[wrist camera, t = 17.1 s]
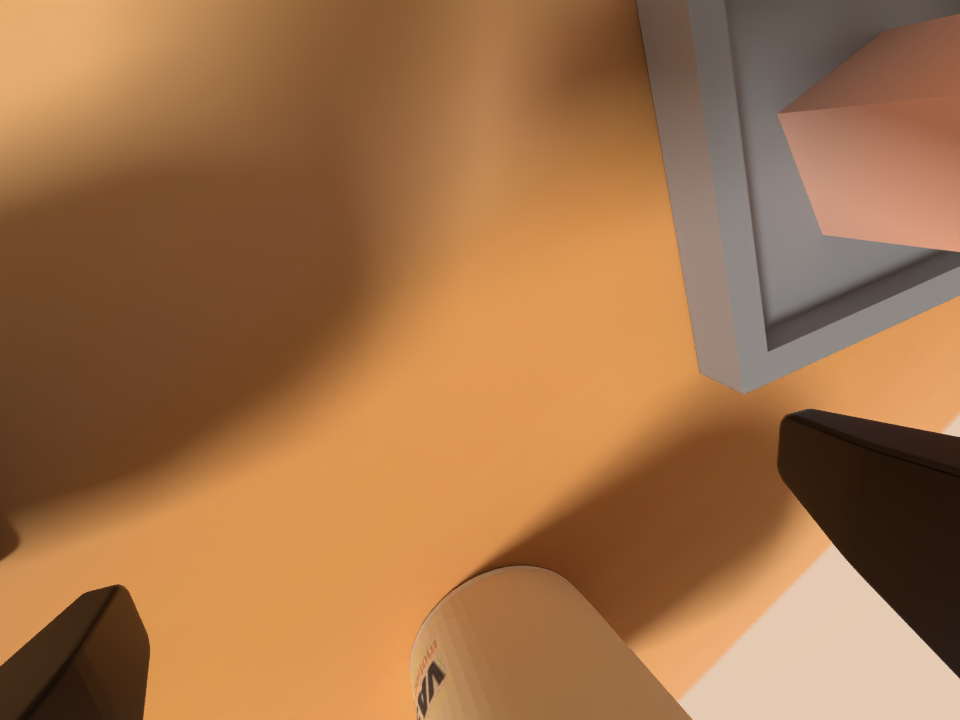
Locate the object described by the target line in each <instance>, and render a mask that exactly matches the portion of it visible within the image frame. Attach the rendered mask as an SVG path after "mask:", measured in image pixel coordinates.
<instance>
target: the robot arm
mask: <svg viewBox="0 0 960 720" xmlns="http://www.w3.org/2000/svg"><path fill="white" fill-rule="evenodd" d="M777 467H778V471H779V474H780V476H781V478H782V480H783V481H784V483H785V484H786V485H787V486H788V488H789V489H790V490H791V491H792V493H793V494H794V495H795V496H796V498H797V499H798V500H799V501H800V503H801V504H802V505H803V506H804V508H805V509H806V510H807V511H808V513H809V514H810V515H811V516H812V518H813V519H814V520H815V521H816V523H817V524H818V525H819V526H820V528H821V529H822V530H823V531H824V533H825V534H826V535H827V537H828V538H829V539H830V540H831V542H832V543H833V544H834V545H835V546H836V548H837V549H838V550H839V551H840V553H841V554H842V555H843V556H844V557H845V559H846V560H847V561H848V562H849V563H850V564H851V565H852V566H853V568H854V569H855V570H856V571H857V572H858V573H859V574H860V575H861V576H862V577H863V578H864V579H865V580H866V582H867V583H869V585H870V586H871V587H872V588H873V589H874V590H875V591H876V592H877V593H878V594H879V595H880V596H881V597H882V598H883V599H884V600H885V601H886V602H887V603H888V604H889V605H890V606H891V608H893V610H894V611H895V612H896V613H897V614H898V615H899V616H900V617H901V618H902V619H903V620H904V621H905V622H906V623H907V624H908V625H909V626H910V627H911V628H912V629H913V630H914V631H915V632H916V634H917V635H918V636H919V637H920V638H921V639H922V640H923V641H924V642H925V643H926V644H927V645H928V646H929V647H930V648H931V649H932V650H933V651H934V652H935V653H936V654H937V655H938V656H939V657H940V658H941V660H942V661H943V662H944V663H945V664H946V665H947V666H948V667H949V668H950V669H951V670H952V671H953V672H954V673H955V674H956V675H957V676H958V677H959V678H960V437H955V436H950V435H945V434H940V433H935V432H930V431H925V430H920V429H914V428H909V427H904V426H899V425H894V424H888V423H883V422H878V421H873V420H868V419H862V418H857V417H852V416H847V415H842V414H836V413H831V412H826V411H821V410H816V409H806V410H802V411H798V412H794V413H791V414H787V415H786V416H784V417H783V418H782V420H781V422H780V428H779V441H778V455H777ZM149 659H150V644H149V638H148V634H147V632H146V629H145V627H144V625H143V623H142V620H141V618H140V616H139V613H138V611H137V609H136V607H135V604H134V602H133V600H132V597H131V595H130V593H129V591H128V590H127V589H126V588H125V587H124V586H122V585H119V584H117V585H113V586H109V587H105V588H101V589H97V590H93V591H89V592H86V593H84V594H82V595H81V596H80V597H79V598H78V599H76V600H75V601H74V602H73V603H72V604H71V605H70V606H68V607H67V608H66V609H65V610H64V611H63V612H62V613H61V614H59V615H58V616H57V617H56V618H55V619H54V620H53V621H51V622H50V623H49V624H48V625H47V626H46V627H45V628H43V629H42V630H41V631H40V632H39V633H38V634H37V635H36V636H34V637H33V638H32V639H31V640H30V641H29V642H28V643H26V644H25V645H24V646H23V647H22V648H21V649H20V650H18V651H17V652H16V653H15V654H14V655H13V656H12V657H11V658H9V659H8V660H7V661H6V662H5V663H4V664H3V665H1V666H0V720H143V716H144V706H145V697H146V687H147V678H148V668H149Z"/></svg>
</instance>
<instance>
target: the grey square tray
mask: <svg viewBox="0 0 960 720" xmlns="http://www.w3.org/2000/svg"><path fill="white" fill-rule="evenodd" d="M636 3H637V9H638V15H639V21H640V26H641V32H642V38H643V44H644V50H645V56H646V61H647V67H648V73H649V79H650V85H651V91H652V96H653V102H654V108H655V114H656V120H657V126H658V131H659V137H660V143H661V149H662V155H663V160H664V166H665V172H666V178H667V184H668V190H669V195H670V201H671V207H672V213H673V219H674V225H675V230H676V236H677V242H678V248H679V254H680V259H681V265H682V271H683V277H684V283H685V289H686V294H687V300H688V306H689V312H690V318H691V324H692V329H693V335H694V341H695V347H696V353H697V359H698V364H699V370H700V373H701V374H703V375H705V376H707V377H709V378H711V379H713V380H715V381H717V382H719V383H721V384H723V385H726V386H728V387H730V388H732V389H734V390H736V391H738V392H740V393H742V394H746V393H748V392H750V391H752V390H755V389H757V388H759V387H761V386H763V385H765V384H768V383H770V382H772V381H774V380H776V379H779V378H781V377H783V376H785V375H787V374H789V373H792V372H794V371H796V370H798V369H800V368H803V367H805V366H807V365H809V364H811V363H813V362H816V361H818V360H820V359H822V358H824V357H827V356H829V355H831V354H833V353H835V352H837V351H840V350H842V349H844V348H846V347H848V346H851V345H853V344H855V343H857V342H859V341H861V340H864V339H866V338H868V337H870V336H872V335H875V334H877V333H879V332H881V331H883V330H885V329H888V328H890V327H892V326H894V325H896V324H899V323H901V322H903V321H905V320H907V319H909V318H912V317H914V316H916V315H918V314H920V313H923V312H925V311H927V310H929V309H931V308H933V307H936V306H938V305H940V304H942V303H944V302H947V301H949V300H951V299H953V298H955V297H957V296H960V252H955V251H947V250H939V249H931V248H923V247H915V246H907V245H899V244H891V243H883V242H875V241H867V240H859V239H851V238H843V237H835V236H827V235H823V234H822V232H821V229H820V226H819V224H818V221H817V218H816V216H815V213H814V210H813V208H812V205H811V203H810V200H809V197H808V195H807V192H806V189H805V187H804V184H803V181H802V179H801V176H800V173H799V171H798V168H797V165H796V163H795V160H794V157H793V155H792V152H791V149H790V147H789V144H788V141H787V139H786V136H785V133H784V131H783V128H782V125H781V123H780V120H779V117H778V115H777V114H778V113H779V112H780V111H781V110H783V109H784V108H785V107H787V106H788V105H789V104H791V103H792V102H793V101H794V100H796V99H797V98H798V97H800V96H801V95H802V94H803V93H805V92H806V91H807V90H809V89H810V88H811V87H813V86H814V85H815V84H816V83H818V82H819V81H820V80H822V79H823V78H824V77H825V76H827V75H828V74H829V73H831V72H832V71H833V70H835V69H836V68H837V67H838V66H840V65H841V64H842V63H844V62H845V61H846V60H848V59H849V58H850V57H851V56H853V55H854V54H855V53H857V52H858V51H859V50H860V49H862V48H863V47H864V46H866V45H867V44H868V43H870V42H871V41H872V40H873V39H875V38H876V37H877V36H879V35H880V34H881V33H882V32H884V31H885V30H887V29H892V28H896V27H901V26H906V25H910V24H915V23H919V22H924V21H928V20H933V19H937V18H942V17H947V16H951V15H956V14H960V0H636Z"/></svg>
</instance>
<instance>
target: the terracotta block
mask: <svg viewBox="0 0 960 720" xmlns="http://www.w3.org/2000/svg"><path fill="white" fill-rule="evenodd" d="M777 115H778V117H779V120H780V123H781V125H782V128H783V131H784V133H785V136H786V139H787V141H788V144H789V147H790V149H791V152H792V155H793V157H794V160H795V163H796V165H797V168H798V171H799V173H800V176H801V179H802V181H803V184H804V187H805V189H806V192H807V195H808V197H809V200H810V203H811V205H812V208H813V210H814V213H815V216H816V218H817V221H818V224H819V226H820V229H821V232H822V234H823V235H827V236H835V237H843V238H851V239H859V240H867V241H875V242H883V243H891V244H899V245H907V246H915V247H923V248H931V249H939V250H947V251H955V252H960V14H956V15H951V16H947V17H942V18H937V19H933V20H928V21H924V22H919V23H915V24H910V25H906V26H901V27H896V28H892V29H887V30H885V31H884V32H882V33H881V34H880V35H879V36H877V37H876V38H875V39H873V40H872V41H871V42H870V43H868V44H867V45H866V46H864V47H863V48H862V49H860V50H859V51H858V52H857V53H855V54H854V55H853V56H851V57H850V58H849V59H848V60H846V61H845V62H844V63H842V64H841V65H840V66H838V67H837V68H836V69H835V70H833V71H832V72H831V73H829V74H828V75H827V76H825V77H824V78H823V79H822V80H820V81H819V82H818V83H816V84H815V85H814V86H813V87H811V88H810V89H809V90H807V91H806V92H805V93H803V94H802V95H801V96H800V97H798V98H797V99H796V100H794V101H793V102H792V103H791V104H789V105H788V106H787V107H785V108H784V109H783V110H781V111H780V112H779V113H778V114H777Z"/></svg>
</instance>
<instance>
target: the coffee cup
mask: <svg viewBox="0 0 960 720" xmlns="http://www.w3.org/2000/svg"><path fill="white" fill-rule="evenodd" d="M410 677H411V686H412V693H413V699H414V705H415V711H416V717H417V720H692V719H691V717H690V716H689V715H688V714H687V713H686V712H685V710H684V709H683V708H682V707H681V706H680V705H679V704H678V702H677V701H676V700H675V699H674V698H673V697H672V696H671V695H670V693H669V692H668V691H667V690H666V689H665V688H664V687H663V685H662V684H661V683H660V682H659V681H658V680H657V679H656V677H655V676H654V675H653V674H652V673H651V672H650V671H649V669H648V668H647V667H646V666H645V665H644V664H643V663H642V661H641V660H640V659H639V658H638V657H637V656H636V655H635V653H634V652H633V651H632V650H631V649H630V648H629V647H628V645H627V644H626V643H625V642H624V641H623V640H622V639H621V638H620V636H619V635H618V634H617V633H616V632H615V631H614V630H613V628H612V627H611V626H610V625H609V624H608V623H607V622H606V620H605V619H604V618H603V617H602V616H601V615H600V614H599V612H598V611H597V610H596V609H595V608H594V607H593V606H592V605H591V604H590V603H589V602H588V600H587V599H586V598H585V597H584V596H583V595H582V594H581V593H580V592H579V591H578V590H577V589H576V588H575V587H574V586H573V585H572V584H571V583H570V582H569V581H568V580H566V579H565V578H564V577H562V576H560V575H559V574H557V573H555V572H553V571H550V570H548V569H544V568H540V567H535V566H509V567H503V568H499V569H495V570H491V571H489V572H486V573H483V574H481V575H478V576H476V577H474V578H472V579H470V580H468V581H466V582H465V583H463V584H462V585H460V586H459V587H457V588H456V589H454V590H453V591H451V592H450V593H449V594H448V595H447V596H446V597H445V598H444V599H442V600H441V601H440V602H439V603H438V605H437V606H436V607H435V608H434V609H433V610H432V611H431V612H430V614H429V615H428V617H427V619H426V620H425V622H424V623H423V625H422V626H421V628H420V630H419V632H418V634H417V637H416V639H415V642H414V646H413V650H412V654H411V661H410Z"/></svg>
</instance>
